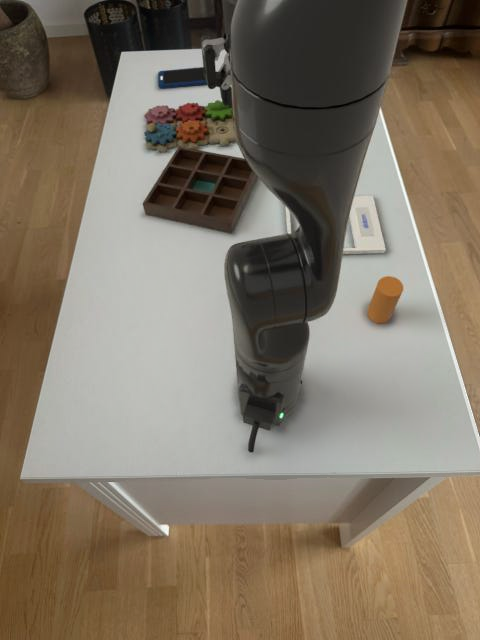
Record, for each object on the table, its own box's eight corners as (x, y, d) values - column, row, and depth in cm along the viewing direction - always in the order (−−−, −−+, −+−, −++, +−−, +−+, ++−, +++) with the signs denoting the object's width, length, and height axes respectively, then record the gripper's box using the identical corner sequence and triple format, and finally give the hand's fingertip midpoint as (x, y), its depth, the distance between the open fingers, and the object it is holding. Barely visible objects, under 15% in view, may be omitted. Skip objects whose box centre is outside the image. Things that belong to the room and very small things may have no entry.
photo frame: (385, 249, 82) (289, 251, 83) (384, 253, 83) (289, 255, 84) (373, 195, 90) (285, 197, 91) (372, 199, 91) (284, 201, 92)
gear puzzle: (269, 102, 111) (269, 86, 108) (278, 141, 103) (279, 125, 99) (145, 113, 111) (142, 98, 107) (145, 154, 102) (141, 139, 98)
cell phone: (158, 73, 120) (157, 71, 119) (209, 69, 120) (209, 66, 120) (158, 88, 116) (158, 85, 116) (211, 83, 116) (210, 81, 116)
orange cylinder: (388, 326, 75) (401, 299, 68) (365, 320, 76) (375, 292, 69) (392, 307, 77) (405, 279, 70) (369, 302, 78) (379, 273, 71)
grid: (232, 233, 88) (231, 223, 85) (145, 214, 91) (142, 203, 89) (260, 172, 97) (260, 161, 95) (180, 157, 101) (178, 146, 98)
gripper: (198, 19, 48) (216, 128, 63) (325, -13, 48) (312, 104, 63) (184, -26, 50) (205, 90, 66) (305, -56, 51) (297, 66, 66)
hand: (258, 96), depth 65 cm, fingers open, 8 cm apart
